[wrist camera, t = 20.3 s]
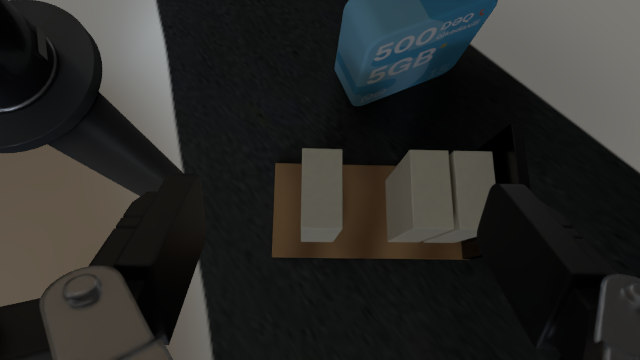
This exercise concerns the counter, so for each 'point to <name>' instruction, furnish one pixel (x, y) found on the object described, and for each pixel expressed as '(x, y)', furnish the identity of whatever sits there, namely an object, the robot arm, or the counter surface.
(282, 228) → the rack
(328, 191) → the beige block
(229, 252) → the counter surface
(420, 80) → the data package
